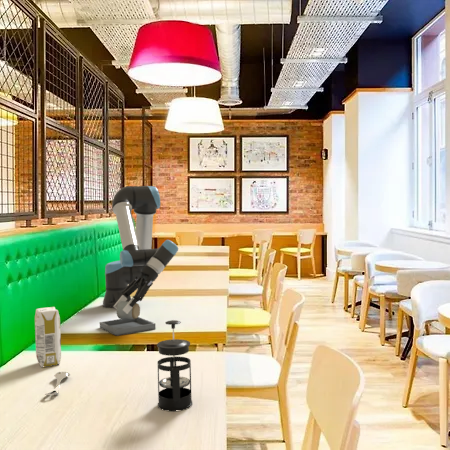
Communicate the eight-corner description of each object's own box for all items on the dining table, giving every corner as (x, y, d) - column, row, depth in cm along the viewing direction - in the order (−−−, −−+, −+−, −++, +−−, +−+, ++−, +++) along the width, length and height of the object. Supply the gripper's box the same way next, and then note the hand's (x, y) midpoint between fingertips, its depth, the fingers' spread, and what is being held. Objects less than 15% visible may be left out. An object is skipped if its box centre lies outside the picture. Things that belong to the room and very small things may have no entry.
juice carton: (39, 368, 183) (37, 312, 182) (35, 362, 191) (33, 308, 190) (62, 365, 186) (60, 310, 185) (57, 358, 194) (55, 305, 193)
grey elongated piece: (57, 386, 154) (40, 387, 154) (58, 399, 154) (40, 400, 154) (71, 369, 174) (56, 369, 174) (71, 380, 174) (56, 381, 174)
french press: (156, 399, 153) (154, 317, 152) (190, 396, 155) (188, 315, 154) (158, 415, 142) (156, 327, 140) (195, 412, 143) (192, 325, 142)
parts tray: (99, 327, 240) (99, 322, 240) (137, 321, 250) (137, 316, 250) (116, 335, 225) (116, 329, 225) (155, 329, 235) (155, 323, 235)
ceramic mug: (133, 321, 232) (133, 303, 232) (116, 320, 235) (115, 302, 235) (144, 316, 242) (144, 299, 242) (127, 315, 245) (127, 298, 245)
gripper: (169, 277, 236) (137, 319, 228) (146, 273, 254) (115, 311, 246) (158, 266, 233) (124, 308, 224) (136, 262, 251) (104, 301, 242)
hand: (120, 310), depth 235 cm, fingers closed on ceramic mug, 9 cm apart
